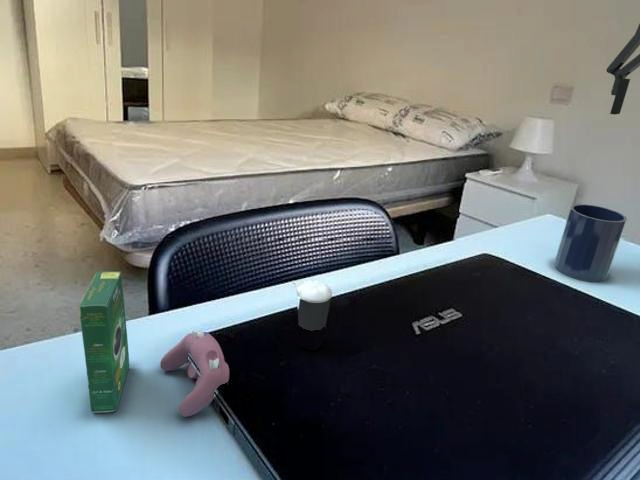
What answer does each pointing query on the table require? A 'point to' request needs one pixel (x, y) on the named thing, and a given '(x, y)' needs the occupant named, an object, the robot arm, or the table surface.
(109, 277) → the coffee box
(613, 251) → the tube
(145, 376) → the table surface
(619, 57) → the robot arm
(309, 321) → the milkshake
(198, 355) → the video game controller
